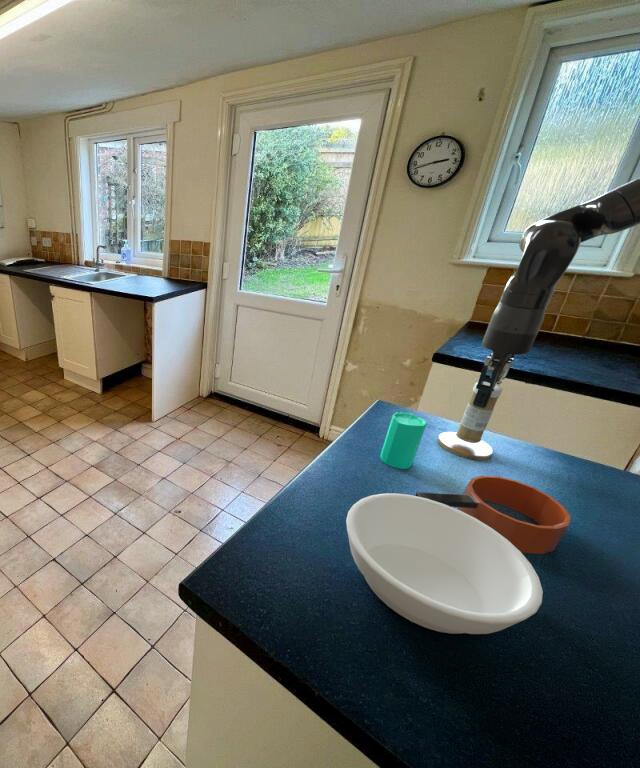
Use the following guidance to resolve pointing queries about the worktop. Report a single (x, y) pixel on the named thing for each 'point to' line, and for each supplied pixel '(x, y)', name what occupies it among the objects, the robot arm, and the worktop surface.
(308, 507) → the worktop surface
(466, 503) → the pan
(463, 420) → the sprinkles bottle
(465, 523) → the bowl
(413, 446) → the candle
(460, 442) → the disc
